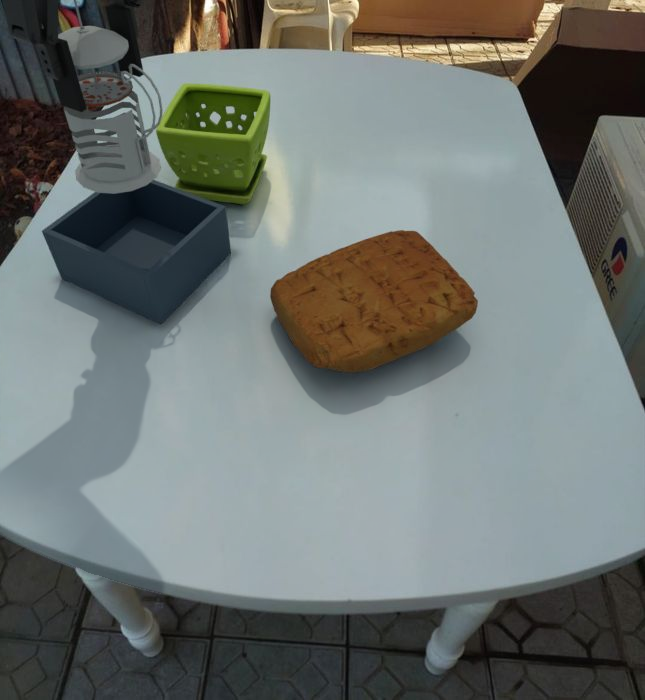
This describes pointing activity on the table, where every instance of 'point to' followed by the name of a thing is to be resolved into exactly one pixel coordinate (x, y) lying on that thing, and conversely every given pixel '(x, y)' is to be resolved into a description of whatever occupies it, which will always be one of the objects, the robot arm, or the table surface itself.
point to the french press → (100, 90)
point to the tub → (141, 246)
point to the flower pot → (216, 140)
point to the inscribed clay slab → (372, 302)
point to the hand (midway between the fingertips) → (104, 89)
